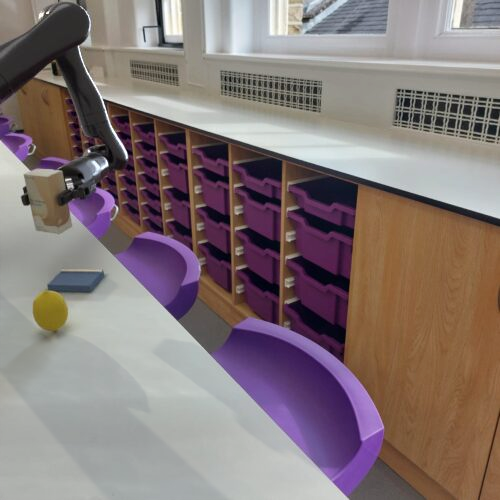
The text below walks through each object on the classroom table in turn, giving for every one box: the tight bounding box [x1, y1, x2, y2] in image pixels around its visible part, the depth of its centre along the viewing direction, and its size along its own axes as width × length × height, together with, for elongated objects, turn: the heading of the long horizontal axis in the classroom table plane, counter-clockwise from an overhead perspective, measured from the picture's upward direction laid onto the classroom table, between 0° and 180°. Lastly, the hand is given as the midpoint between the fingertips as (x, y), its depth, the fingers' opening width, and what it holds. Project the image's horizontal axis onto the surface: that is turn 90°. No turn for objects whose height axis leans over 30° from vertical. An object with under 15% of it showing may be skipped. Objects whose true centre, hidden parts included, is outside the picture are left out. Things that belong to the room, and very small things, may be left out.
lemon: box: [32, 289, 69, 332], centre depth 83 cm, size 6×6×8 cm
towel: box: [46, 268, 105, 293], centre depth 101 cm, size 9×7×2 cm
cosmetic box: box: [23, 168, 73, 235], centre depth 98 cm, size 6×4×12 cm
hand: (41, 201), depth 95 cm, fingers closed on cosmetic box, 7 cm apart
